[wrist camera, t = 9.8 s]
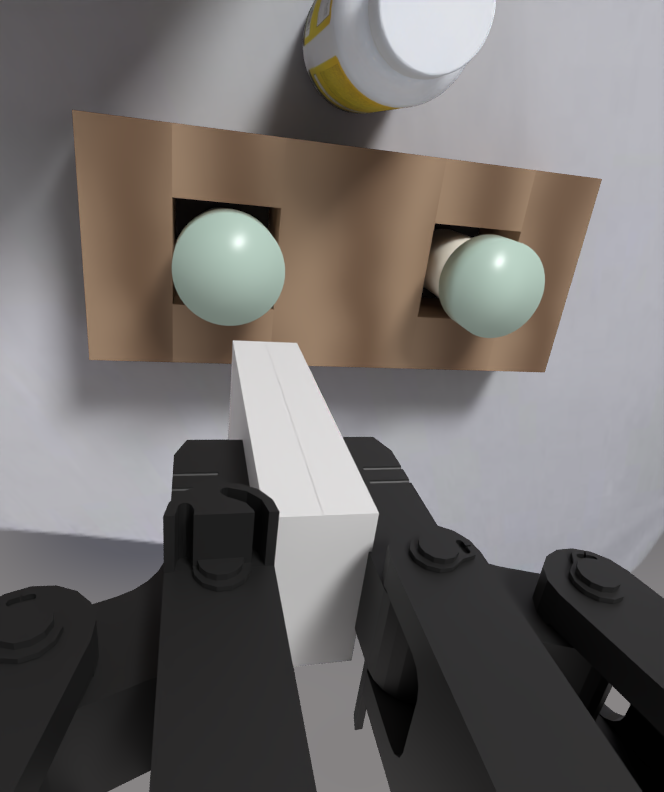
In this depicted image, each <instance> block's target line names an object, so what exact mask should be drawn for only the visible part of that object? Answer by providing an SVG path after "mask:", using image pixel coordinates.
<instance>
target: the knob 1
mask: <svg viewBox="0 0 664 792" xmlns="http://www.w3.org/2000/svg"><path fill="white" fill-rule="evenodd" d="M172 277H173V282H174V285H175V288H176V291H177V293H178V295H179V297H180V298H181V300H182V301H183V303H184V304H185V305H186V306H187V307H188V308H189V309H190V310H191V311H192V312H193V313H194V314H196V315H197V316H199V317H200V318H202V319H204V320H206V321H208V322H211V323H214V324H218V325H225V326H236V325H242V324H246V323H249V322H252V321H254V320H256V319H258V318H260V317H261V316H263V315H264V314H265V313H267V312H268V311H269V310H270V309H271V308H272V306H273V305H274V304H275V303H276V301H277V299H278V298H279V296H280V293H281V291H282V288H283V285H284V280H285V263H284V259H283V255H282V252H281V249H280V247H279V245H278V244H277V242H276V240H275V239H274V237H273V236H272V235H271V233H270V232H269V231H268V229H267V228H266V227H265V226H264V225H263V224H262V223H261V222H260V221H258V220H257V219H256V218H254V217H253V216H251V215H249V214H247V213H245V212H242V211H239V210H234V209H231V208H227V207H214V208H210V209H208V210H205V211H204V212H202V213H201V214H199V215H198V216H197V217H195V218H194V219H193V220H191V221H190V222H189V223H188V224H187V225H186V226H185V227H184V229H183V230H182V232H181V233H180V235H179V237H178V239H177V242H176V245H175V249H174V254H173V259H172Z"/></svg>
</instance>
